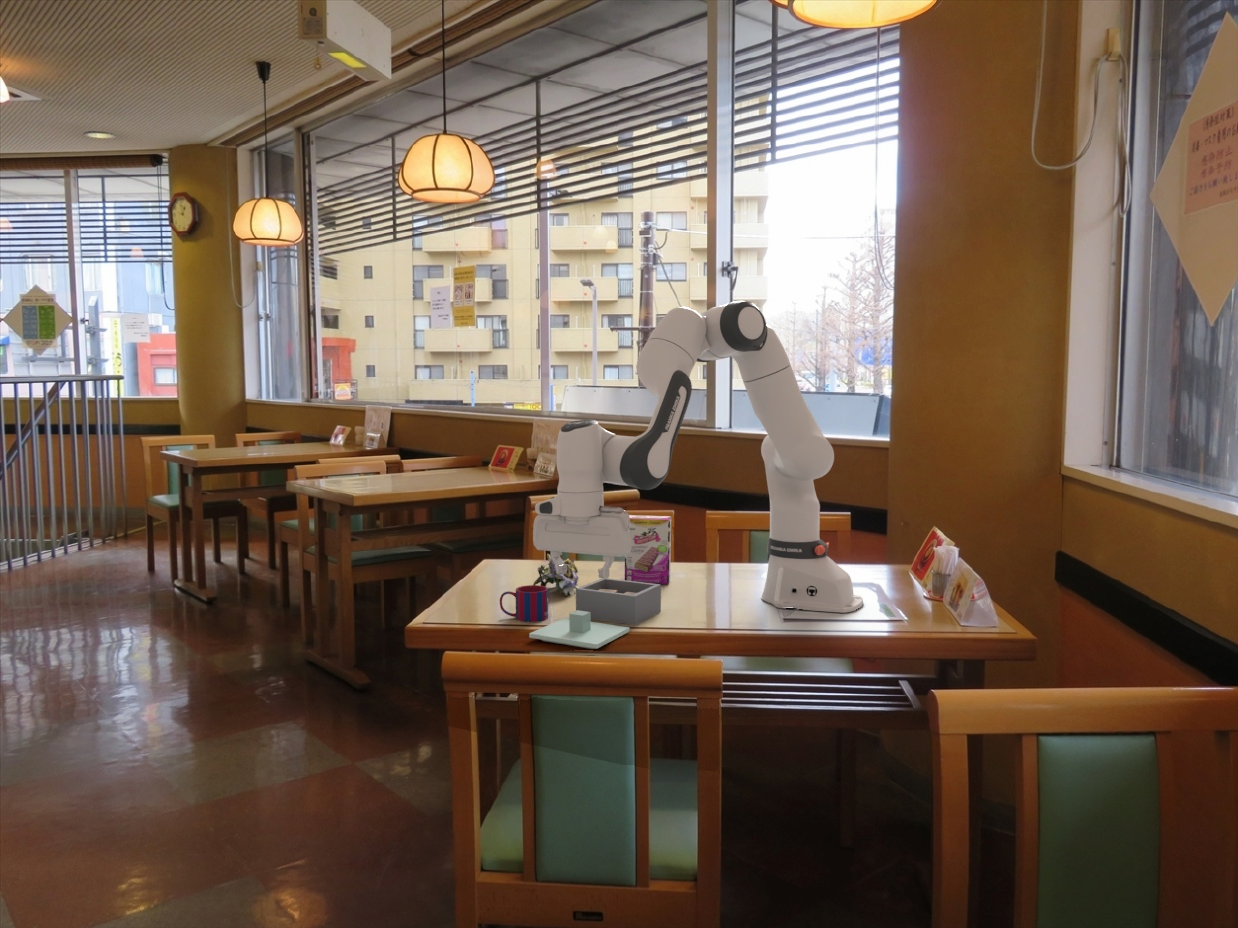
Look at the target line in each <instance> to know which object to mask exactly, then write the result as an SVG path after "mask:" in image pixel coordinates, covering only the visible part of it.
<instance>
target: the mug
mask: <svg viewBox="0 0 1238 928" xmlns="http://www.w3.org/2000/svg"><path fill="white" fill-rule="evenodd" d="M505 595H512V596H513V597H515V613H514V612H509V611H507V610H506V609H505V608H504V606H503V598H504V596H505ZM499 597H500V598H499V607H500V610H501V611H502V612H503V613H504V614H505V615H506V616H507V615H508V616H510V617H514V618H515V619H516V620H517V621H518V622H523V623H539V622H544V621H546V620H548V619H549V588H548V587H547V586H540V585H538V584H536V585H533V584H529V585H521V586H517V587H516V588H515V592H514V591H510V590H509V591H504V592H503V593H502V594H501V595H500V596H499Z"/></svg>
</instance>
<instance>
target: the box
mask: <svg viewBox="0 0 1238 928" xmlns="http://www.w3.org/2000/svg"><path fill="white" fill-rule="evenodd" d="M578 587H579V586H578ZM661 587H662V584H652V583H643V582H635V581H627V580H625V579H617V578H610V577H609V578H606V579H605V578H599V579H596V580H595V581H592V582H590V583H587V584H585V585H582V586H580V587H579V588H577V589H575V611H577V610H579V611H586V612H591V620H597V621H598V620H599V621H604V622H611V623H617V624H618V623H619V624H625V625H630V626H631V625H632V626H636V625H638V624H640V623H642V622H644V621H646V620H648V619H650V618H652V617H654V616H656V615H657V614H660V613H661V612H662V607H661V606H662V588H661ZM599 589H609V590H618V593H615V592H607V591H599ZM626 592H633V593H636V594H634V595H631V594H623V593H626Z"/></svg>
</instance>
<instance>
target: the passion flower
mask: <svg viewBox="0 0 1238 928" xmlns="http://www.w3.org/2000/svg"><path fill="white" fill-rule="evenodd" d="M546 557H547V561H548V564H547V565H548V567H546V565H544V564H541V565H540V567H539V566H538V568H537V573H538V574H539V577H537V579H535V580H534V581H533V584H532V585H538V584H540V585H539V586H545V587H547V584H549V583H550V584H552V585H553V584H555V588H556V590H558V591H560V593H561V595H563V596H564V597H565V598H566V597H567V596H574V595H575V591H574V589H575V590H576V589H577V588H579V585H578V581H579V575H577V574H578V573H579V572H578V570H579V569H578V566H577V565H576V564H575V559H573V558H572V559H571V560H570V558H567V559H565V560H564V558H563V559H562V561H563V564H567V568H566V569H567V573H566V574H557V573H556V565H555V563H554V562H553V560H552V558H551V554H549V553H547V554H546ZM545 567H546V568H545ZM544 580H545V581H544Z"/></svg>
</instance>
